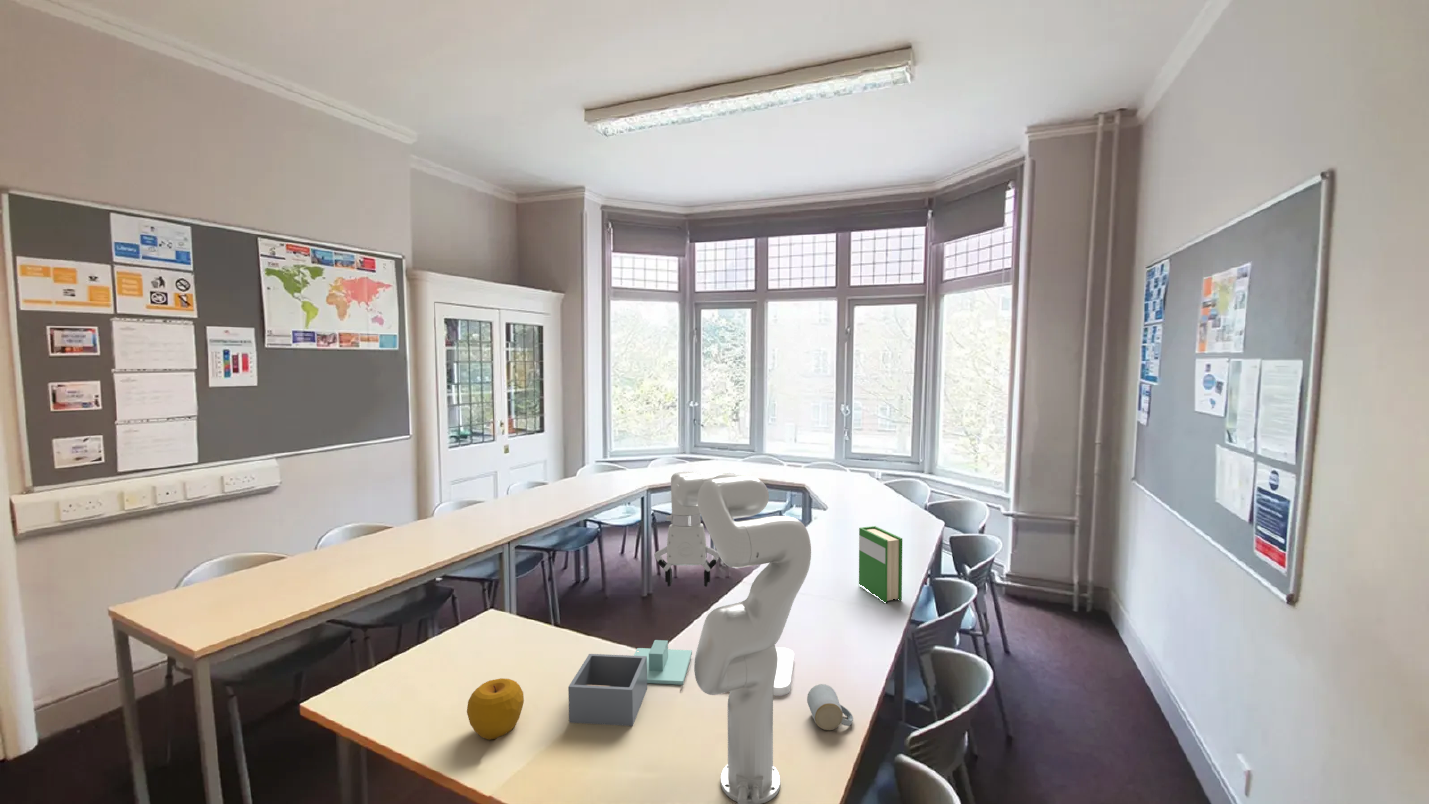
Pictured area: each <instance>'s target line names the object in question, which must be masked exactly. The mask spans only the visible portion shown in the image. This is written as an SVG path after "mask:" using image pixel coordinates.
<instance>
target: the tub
mask: <svg viewBox="0 0 1429 804" xmlns="http://www.w3.org/2000/svg"><path fill="white" fill-rule="evenodd" d="M591 685H604V686H591ZM647 690H648V683H647V656H634V655H628V654H626V655H625V654H624V655H623V654H602V653H589V654H588V655H587V656H586V658H585V660H584V661H583V663H582V665H581V666H580V668H579V669H578V671H577V672H576V674H575V675H574V677H573V679H572V681H571V682H570V683H569V685H568V690H567V691H568V722H569V723H572V724H573V723H574V724H588V725H589V724H591V725H606V726H607V725H608V726H609V725H610V726H624V727H626V726H627V727H629V726H630V727H634V724H635V721H636V719H637V717H638V714H639V711H640V709H641V706H642V704H643V700H644V698H645V695H646V692H647Z"/></svg>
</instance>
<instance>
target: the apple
mask: <svg viewBox="0 0 1429 804" xmlns="http://www.w3.org/2000/svg"><path fill="white" fill-rule="evenodd" d="M524 702H525V697H524V691H523V689H522V688H521V685H520V684H519V683H518V682H517V681H515V680H513V679H510V678H502V677H501V678H495V679H492V680H491V679H490V680H488V681H485V682H483V683H482V684H480V686H478V687H477V688H476V689H475V690H474V691H473V692H471V694H470V697H469V699H468V700H467V708H466V715H467V718H468V721H469V724H470V726H471V728H472V729H473V730H474V732H475V733H476V734H478V735H479V736H480V737H481V738H483V739H485V740H489V741H491V740H496V739H497V738H498V737H502V736H505V735H507V734H508V733H510V732H511V731H512V730H513V729H514V728H516V725H517V723H518V722H519V719H520V716H521V713H522V710H523V706H524Z"/></svg>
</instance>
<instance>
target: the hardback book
mask: <svg viewBox="0 0 1429 804" xmlns="http://www.w3.org/2000/svg"><path fill="white" fill-rule="evenodd" d="M858 528H859V529H858V531H859V533H858V534H859V535H858V537H859V538H858V542H859V543H858V585H859V584H860V585H862V586H864V587H865V588H866V589H868V590H869V591H870V592H871V593H872V594H875V595H876V596H878V597H879V598H880V599H881V600H883V601H884V602H887V603H888V602H889V601H894V600H893V599H895V600H897V599H899V600H902V601H903V599H902V597H903V589H902V588H903V537H900V536H898V535H896V534H893V533H892V532H889V531H887V530H884V529H883V528H880V527H879V526H877V525H874V526H873V525H872V526H865V527H858Z"/></svg>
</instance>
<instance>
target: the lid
mask: <svg viewBox="0 0 1429 804" xmlns="http://www.w3.org/2000/svg"><path fill="white" fill-rule="evenodd" d="M637 651H639V652H637ZM692 655H693V650H691V649H671V648H670V649H669V640H663V639H662V640H661V639H655V640H654V641H653V644H651V648H650V647H649V648H647V647H646V648H645V647H644V648H643V647H637V648H636V650H635V652H634V654H633V656H647V684H661V685H679V686H680V685H683V686H684V683H685V680H686V675H687V673H688V669H689V665H690V661H691V659H692Z"/></svg>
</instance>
